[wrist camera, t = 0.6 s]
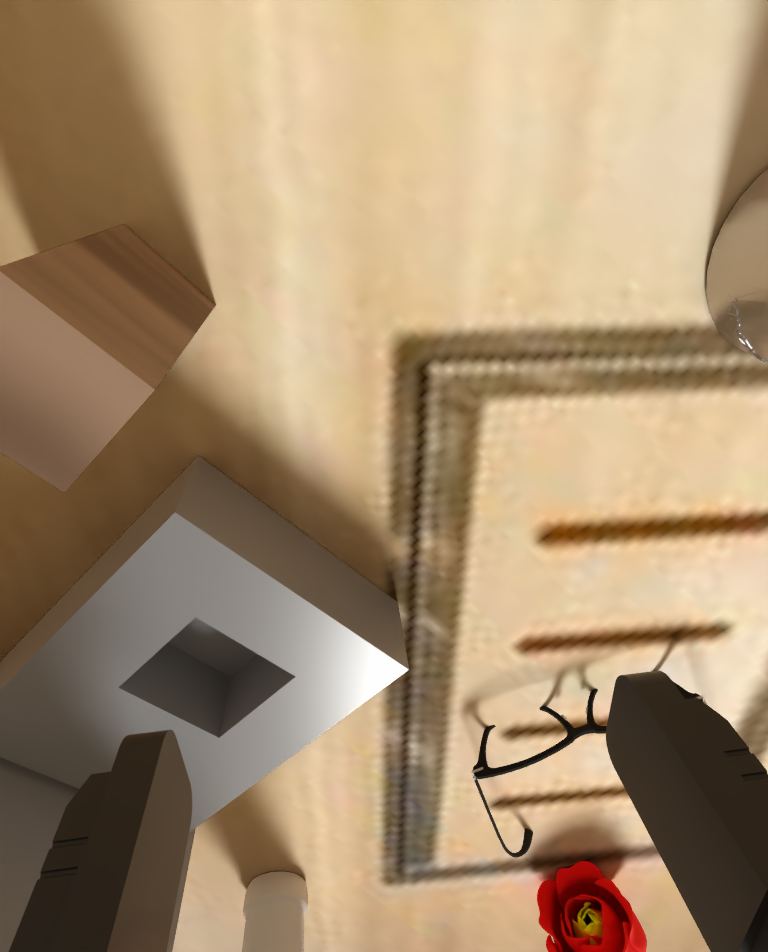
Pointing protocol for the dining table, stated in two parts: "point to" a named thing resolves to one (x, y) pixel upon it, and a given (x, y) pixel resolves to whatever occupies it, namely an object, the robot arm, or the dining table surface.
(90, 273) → the peg
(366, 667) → the socket
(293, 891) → the bottle
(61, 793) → the panel
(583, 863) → the flower
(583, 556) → the dining table surface
